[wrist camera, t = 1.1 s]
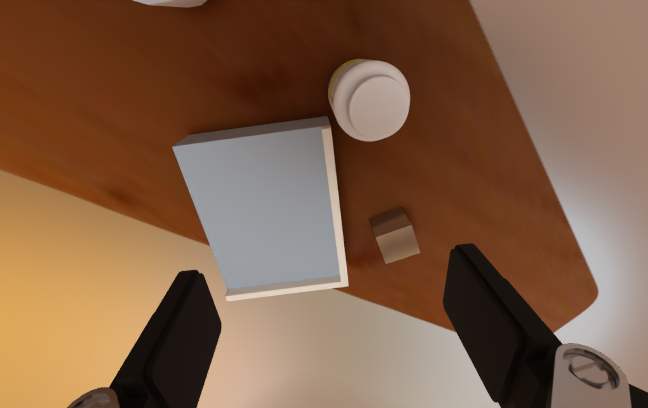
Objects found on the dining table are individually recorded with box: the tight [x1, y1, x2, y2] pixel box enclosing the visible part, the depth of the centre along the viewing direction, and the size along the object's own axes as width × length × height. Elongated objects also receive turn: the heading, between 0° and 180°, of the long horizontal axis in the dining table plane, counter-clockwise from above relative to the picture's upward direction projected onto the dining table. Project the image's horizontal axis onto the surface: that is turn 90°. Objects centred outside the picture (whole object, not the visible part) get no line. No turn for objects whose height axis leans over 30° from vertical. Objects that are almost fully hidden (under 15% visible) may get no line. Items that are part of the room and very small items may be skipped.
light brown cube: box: [369, 207, 420, 264], centre depth 33 cm, size 4×4×4 cm
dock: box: [172, 116, 348, 301], centre depth 31 cm, size 18×14×5 cm
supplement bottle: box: [328, 59, 410, 141], centre depth 23 cm, size 6×6×10 cm
